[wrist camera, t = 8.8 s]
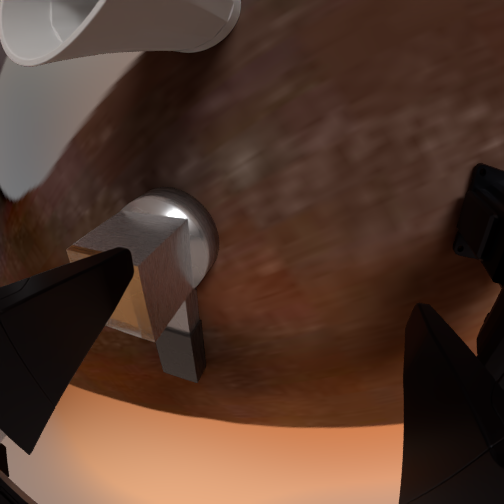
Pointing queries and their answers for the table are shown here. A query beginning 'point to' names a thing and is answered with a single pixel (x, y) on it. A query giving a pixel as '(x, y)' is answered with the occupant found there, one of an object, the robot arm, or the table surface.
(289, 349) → the table surface
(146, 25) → the cup
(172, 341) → the ratchet
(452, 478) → the robot arm
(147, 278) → the grey brown boxy block
